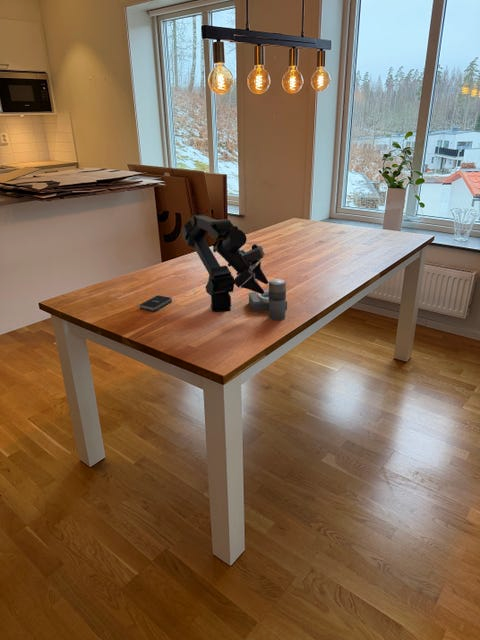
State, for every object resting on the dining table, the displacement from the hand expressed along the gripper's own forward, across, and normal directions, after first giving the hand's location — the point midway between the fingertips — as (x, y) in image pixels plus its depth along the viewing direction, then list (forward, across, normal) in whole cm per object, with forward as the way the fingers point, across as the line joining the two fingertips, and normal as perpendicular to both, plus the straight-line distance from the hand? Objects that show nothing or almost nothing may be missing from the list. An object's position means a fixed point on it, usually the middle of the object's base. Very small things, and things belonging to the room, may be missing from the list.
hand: (265, 288), depth 148 cm
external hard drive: (-21, +4, +37) cm, 43 cm away
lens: (+10, 0, +5) cm, 11 cm away
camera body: (+7, +9, +8) cm, 14 cm away
